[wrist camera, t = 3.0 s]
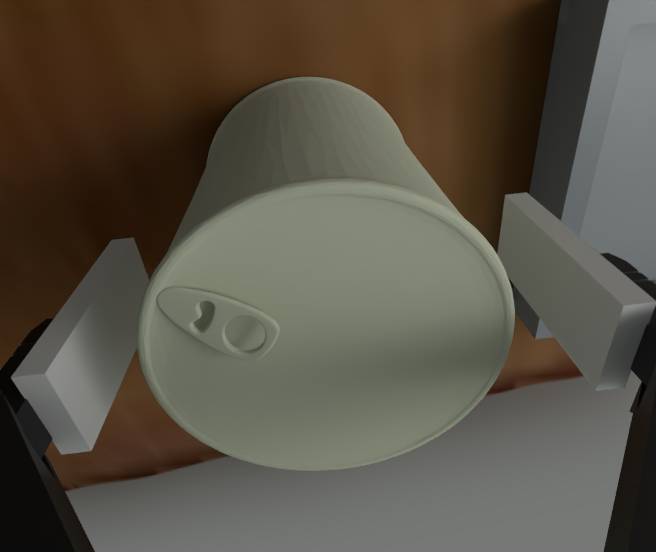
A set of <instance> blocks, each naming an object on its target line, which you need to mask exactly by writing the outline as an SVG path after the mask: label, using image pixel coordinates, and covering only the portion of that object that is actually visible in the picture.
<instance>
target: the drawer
mask: <svg viewBox="0 0 656 552" xmlns="http://www.w3.org/2000/svg"><path fill="white" fill-rule="evenodd" d="M529 195H530V196H531V197H533V198H534V199H535V200H536V201H537V202H539V203H540V204H541V205H542V206H543V207H545V208H546V209H547V210H548V211H549V212H551V213H552V214H553V215H554V216H555V217H556V218H558V219H559V220H560V221H561V222H562V223H564V224H565V225H566V226H567V227H568V228H570V229H571V230H572V231H573V232H574V233H576V234H577V235H578V236H579V237H580V238H582V239H583V240H584V241H585V242H586V243H587V244H589V245H590V246H591V247H592V248H593V249H595V250H596V251H597V252H598V253H599V254H602V253H610V254H612V255H614V256H617V257H619V258H621V259H623V260H626V261H627V262H628V263H630V264H631V265H632V266H633V267H635V268H636V269H637V270H638V272H639V273H642V274H643V275H645V276H646V277H647V278H648V279H649V281H652V282H653V283H655V284H656V0H561V5H560V11H559V17H558V23H557V29H556V35H555V41H554V47H553V53H552V59H551V65H550V71H549V77H548V83H547V89H546V95H545V101H544V107H543V113H542V119H541V125H540V131H539V137H538V143H537V149H536V155H535V160H534V166H533V172H532V178H531V184H530V190H529ZM512 293H513V300H514V308H515V312H516V313H517V314H518V316H519V317H520V319H521V320H522V322H523V323H524V324H525V326H526V327H527V329H528V330H529V331H530V333H531V334H532V336H533V337H534V338H535V339H542V338H550V337H554V336H553V335H552V334H551V332H550V331H549V330H548V328H547V327H546V326H545V324H544V323H543V322H542V321H541V319H540V318H539V317H538V315H537V314H536V313H535V311H534V310H533V309H532V307H531V306H530V305H529V304H528V302H527V301H526V300H525V298H524V297H523V296H522V294H521V293H520V292H519V291H518V289H517V288H516V287H515V285H514V286H513V292H512Z"/></svg>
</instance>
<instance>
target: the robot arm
mask: <svg viewBox="0 0 656 552" xmlns="http://www.w3.org/2000/svg"><path fill="white" fill-rule="evenodd" d="M497 255H498V257H499V258H500V260H501V262H502V264H503V267H504V269H505V271H506V273H507V276H508V278H509V279H510V280H511V281H512V283H513V284H514V285H515V287H516V288H517V289H518V291H519V292H520V293H521V294H522V296H523V297H524V298H525V300H526V301H527V302H528V304H529V305H530V306H531V307H532V309H533V310H534V311H535V313H536V314H537V315H538V317H539V318H540V319H541V321H542V322H543V323H544V324H545V326H546V327H547V328H548V330H549V331H550V332H551V334H552V335H553V336H554V337H555V339H556V340H557V341H558V343H559V344H560V345H561V347H562V348H563V349H564V350H565V352H566V353H567V354H568V356H569V357H570V358H571V360H572V361H573V362H574V363H575V365H576V366H577V367H578V369H579V370H580V371H581V373H582V374H583V375H584V376H585V378H586V379H587V380H588V381H589V383H590V384H591V386H592V387H593V388H594V389H595V391H599V390H608V389H616V388H625V385H626V383H627V380H628V378H629V375H630V372H631V370H632V371H633V372H634V373H635V374H636V375H637V376H638V378H639V379H640V380H641V381H642V382H641V385H640V387H639V389H638V392H637V394H636V397H635V400H634V402H633V404H632V407H631V409H630V412H632V413H633V416H632V421H631V425H630V430H629V435H628V439H627V445H626V449H625V454H624V458H623V464H622V468H621V473H620V477H619V482H618V487H617V491H616V496H615V501H614V505H613V510H612V515H611V520H610V524H609V529H608V534H607V538H606V543H605V548H604V552H656V284H655V283H653V282H652V281H649V279H648V278H647V277H646V276H645V275H643V274H642V273H639V272H638V270H637V269H636V268H635V267H633V266H632V265H631V264H630V263H628V262H627V261H626V260H623V259H621V258H619V257H617V256H614V255H612V254H610V253H602V254H599V253H598V252H597V251H596V250H595V249H593V248H592V247H591V246H590V245H589V244H587V243H586V242H585V241H584V240H583V239H582V238H580V237H579V236H578V235H577V234H576V233H574V232H573V231H572V230H571V229H570V228H568V227H567V226H566V225H565V224H564V223H562V222H561V221H560V220H559V219H558V218H556V217H555V216H554V215H553V214H552V213H551V212H549V211H548V210H547V209H546V208H545V207H543V206H542V205H541V204H540V203H539V202H537V201H536V200H535V199H534V198H533V197H531V196H530V195H529V194H528V193H527V192H526V193H517V194H508V195H505V199H504V207H503V215H502V223H501V230H500V238H499V246H498V254H497ZM148 283H149V278H148V275H147V273H146V270H145V267H144V265H143V262H142V259H141V256H140V254H139V251H138V248H137V246H136V243H135V240H134V238H125V239H116V240H111V242H110V243H109V244H108V246H107V247H106V248H105V250H104V251H103V252H102V254H101V255H100V257H99V258H98V259H97V261H96V262H95V263H94V265H93V266H92V267H91V269H90V270H89V272H88V273H87V274H86V276H85V277H84V278H83V280H82V281H81V282H80V284H79V285H78V287H77V288H76V289H75V291H74V292H73V293H72V295H71V296H70V297H69V299H68V300H67V302H66V303H65V304H64V306H63V307H62V308H61V310H60V311H59V312H58V314H57V315H56V316H55V318H52V319H46V320H45V321H43V322H42V323H41V324H39V325H38V326H37V327H36V328H34V329H33V330H32V331H30V333H29V334H28V335H27V337H26V338H25V339H24V341H23V342H22V343H21V346H19V347H18V348H17V350H16V351H15V352H14V353H13V357H10V359H9V360H8V361H7V362H6V364H5V365H4V366H3V368H2V369H1V370H0V552H95V551H94V549H93V547H92V545H91V543H90V541H89V539H88V537H87V535H86V533H85V531H84V529H83V527H82V525H81V523H80V521H79V519H78V517H77V515H76V513H75V511H74V509H73V507H72V505H71V503H70V501H69V499H68V497H67V495H66V493H65V491H64V489H63V487H62V485H61V483H60V481H59V479H58V477H57V475H56V473H55V471H54V469H53V467H52V465H51V463H50V461H49V459H48V458H47V456H46V455H45V454H44V453H45V451H46V450H47V448H48V446H49V444H50V442H51V440H52V441H53V442H54V444H55V445H56V447H57V448H58V450H59V451H60V453H61V454H70V453H78V452H87V451H91V450H92V448H93V446H94V444H95V441H96V439H97V437H98V435H99V432H100V430H101V428H102V425H103V423H104V421H105V419H106V416H107V414H108V412H109V410H110V407H111V405H112V403H113V400H114V398H115V396H116V394H117V391H118V389H119V387H120V384H121V382H122V380H123V378H124V375H125V373H126V371H127V369H128V366H129V364H130V362H131V359H132V357H133V355H134V353H135V350H136V348H137V339H136V328H137V319H138V314H139V309H140V304H141V300H142V297H143V294H144V292H145V289H146V287H147V285H148Z"/></svg>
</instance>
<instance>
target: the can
mask: <svg viewBox="0 0 656 552" xmlns="http://www.w3.org/2000/svg"><path fill="white" fill-rule="evenodd" d="M514 325H515V308H514V300H513V293H512V288H511V285H510V282H509V279H508V276H507V273H506V271H505V269H504V267H503V264H502V262H501V260H500V258H499V257H498V255H497V254H496V252H495V250H494V249H493V247H492V246H491V245H490V244H489V242H488V241H487V240H486V239H485V237H484V236H483V235H482V234H481V233H480V232H479V231H478V230H477V229H476V228H475V227H474V226H473V225H472V224H471V223H469V222H468V221H467V220H466V219H464V217H463V216H462V215H461V214H460V213H459V212H458V210H457V209H456V208H455V207H454V206H453V204H452V203H451V202H450V201H449V199H448V198H447V197H446V195H445V194H444V193H443V192H442V190H441V189H440V188H439V187H438V185H437V184H436V183H435V182H434V180H433V179H432V178H431V176H430V175H429V174H428V173H427V171H426V170H425V169H424V168H423V166H422V165H421V164H420V162H419V161H418V160H417V159H416V157H415V156H414V155H413V153H412V152H411V151H410V149H409V148H408V146H407V145H406V144H405V142H404V140H403V137H402V135H401V133H400V131H399V129H398V127H397V125H396V124H395V122H394V121H393V119H392V118H391V116H390V115H389V114H388V113H387V112H386V111H385V110H384V108H383V107H382V106H381V105H380V104H379V103H378V102H376V101H375V100H374V99H373V98H371V97H370V96H368V95H367V94H365V93H364V92H362V91H361V90H359V89H357V88H355V87H353V86H351V85H348V84H346V83H343V82H340V81H337V80H333V79H328V78H322V77H296V78H289V79H285V80H281V81H277V82H274V83H271V84H269V85H266V86H264V87H262V88H260V89H258V90H256V91H255V92H253V93H251V94H250V95H248V96H247V97H245V98H244V99H243V100H242V101H241V102H239V103H238V104H237V105H236V106H235V107H234V108H233V109H232V110H231V111H230V113H229V114H228V115H227V116H226V118H225V119H224V120H223V122H222V123H221V125H220V126H219V128H218V130H217V132H216V134H215V136H214V138H213V141H212V144H211V146H210V149H209V154H208V158H207V165H206V168H205V171H204V173H203V175H202V177H201V180H200V182H199V184H198V187H197V189H196V191H195V194H194V196H193V198H192V200H191V203H190V205H189V207H188V209H187V211H186V213H185V215H184V218H183V220H182V222H181V224H180V226H179V228H178V230H177V232H176V235H175V237H174V239H173V241H172V243H171V245H170V247H169V249H168V252H167V253H166V255H165V256H164V258H163V259H162V261H161V262H160V264H159V265H158V267H157V268H156V269H155V271H154V273H153V274H152V276H151V278H150V280H149V283H148V285H147V287H146V289H145V292H144V294H143V297H142V300H141V304H140V309H139V314H138V319H137V328H136V339H137V350H138V356H139V362H140V366H141V369H142V372H143V375H144V377H145V379H146V382H147V384H148V386H149V388H150V390H151V392H152V393H153V395H154V396H155V398H156V400H157V401H158V403H159V404H160V405H161V406H162V408H163V409H164V410H165V411H166V412H167V414H168V415H169V416H170V417H171V418H172V419H173V420H174V421H175V422H176V423H177V424H178V425H179V426H181V427H182V428H183V429H184V430H186V431H187V432H188V433H190V434H191V435H193V436H194V437H195V438H197V439H198V440H200V441H201V442H203V443H205V444H207V445H208V446H210V447H212V448H214V449H216V450H218V451H220V452H222V453H224V454H227V455H230V456H232V457H235V458H238V459H241V460H244V461H247V462H251V463H254V464H258V465H263V466H268V467H274V468H280V469H288V470H300V471H319V470H320V471H321V470H336V469H346V468H352V467H358V466H363V465H367V464H372V463H376V462H379V461H383V460H386V459H389V458H391V457H395V456H398V455H400V454H403V453H406V452H408V451H410V450H413V449H415V448H417V447H419V446H421V445H423V444H425V443H427V442H428V441H430V440H432V439H434V438H436V437H437V436H439V435H441V434H442V433H444V432H445V431H447V430H448V429H449V428H451V427H452V426H454V425H455V424H456V423H457V422H458V421H460V420H461V419H462V418H463V417H465V416H466V415H467V414H468V413H469V412H470V411H471V410H472V409H473V408H474V407H475V406H476V405H477V404H478V403H479V402H480V401H481V399H482V398H483V397H484V396H485V395H486V393H487V392H488V390H489V389H490V388H491V386H492V385H493V383H494V382H495V380H496V379H497V377H498V375H499V373H500V371H501V369H502V367H503V365H504V363H505V361H506V359H507V356H508V353H509V350H510V346H511V342H512V339H513V332H514Z"/></svg>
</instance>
